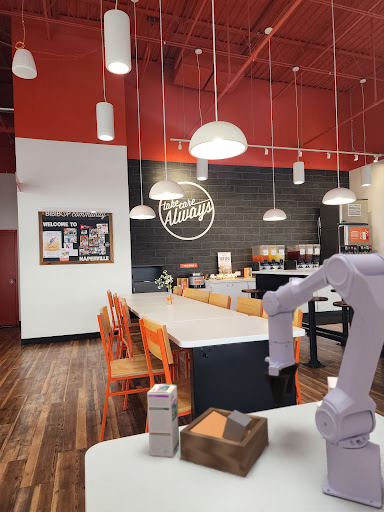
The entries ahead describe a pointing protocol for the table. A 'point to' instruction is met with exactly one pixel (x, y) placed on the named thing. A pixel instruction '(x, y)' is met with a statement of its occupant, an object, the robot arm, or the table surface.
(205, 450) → the wooden box
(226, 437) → the gray block
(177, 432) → the syrup box
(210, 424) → the orange flap
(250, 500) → the table surface
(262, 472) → the table surface
